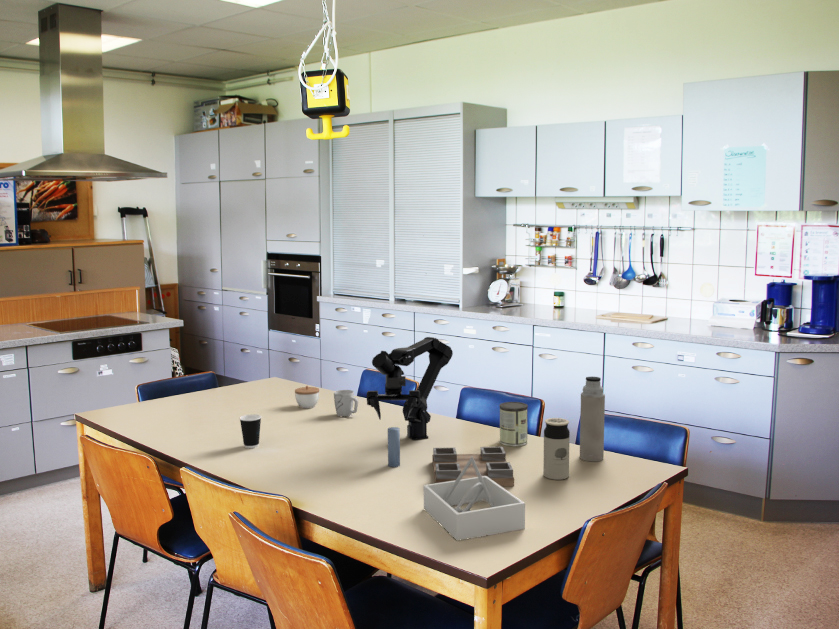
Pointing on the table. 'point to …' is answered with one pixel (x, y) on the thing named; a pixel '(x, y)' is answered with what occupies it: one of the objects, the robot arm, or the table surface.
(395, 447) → the stool leg
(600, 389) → the thermos bottle
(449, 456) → the four-cup wooden tray
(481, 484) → the wire frame
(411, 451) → the table surface
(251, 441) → the dixie cup
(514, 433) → the coffee can
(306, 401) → the lidded jar
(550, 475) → the travel mug
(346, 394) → the mug
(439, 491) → the open square box
